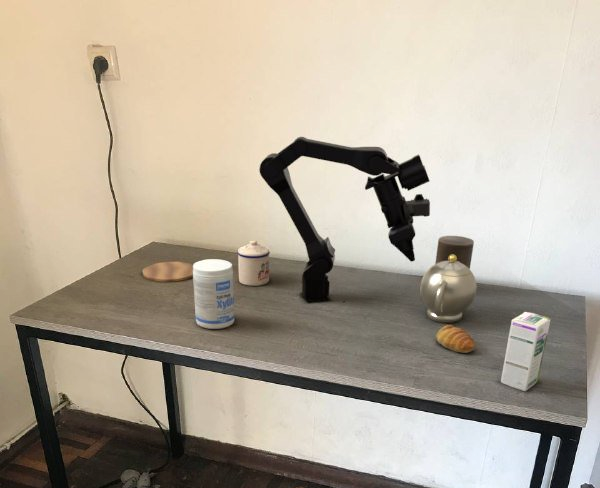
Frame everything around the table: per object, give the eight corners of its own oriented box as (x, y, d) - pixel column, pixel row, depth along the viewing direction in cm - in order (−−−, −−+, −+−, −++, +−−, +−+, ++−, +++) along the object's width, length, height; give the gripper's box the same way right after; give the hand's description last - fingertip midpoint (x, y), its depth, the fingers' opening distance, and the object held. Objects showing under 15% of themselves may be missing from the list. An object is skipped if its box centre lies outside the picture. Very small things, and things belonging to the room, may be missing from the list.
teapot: (425, 303, 171) (433, 242, 162) (476, 312, 166) (487, 250, 158) (406, 327, 157) (413, 262, 148) (461, 337, 152) (471, 271, 143)
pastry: (481, 351, 146) (484, 335, 144) (459, 357, 142) (462, 342, 141) (453, 336, 152) (455, 321, 150) (431, 342, 149) (433, 327, 147)
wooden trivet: (145, 284, 179) (145, 281, 179) (140, 266, 193) (140, 263, 192) (201, 279, 184) (201, 276, 183) (193, 262, 197) (193, 259, 196)
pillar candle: (445, 295, 176) (452, 241, 168) (425, 284, 184) (432, 232, 176) (474, 291, 179) (482, 238, 172) (453, 280, 187) (461, 229, 180)
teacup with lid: (263, 288, 178) (263, 247, 172) (233, 284, 180) (232, 243, 175) (277, 274, 188) (277, 235, 182) (248, 271, 190) (247, 232, 185)
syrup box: (525, 392, 129) (540, 326, 122) (498, 382, 132) (511, 318, 125) (537, 382, 133) (552, 318, 125) (511, 373, 136) (524, 310, 129)
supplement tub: (225, 332, 152) (222, 273, 144) (189, 327, 154) (184, 268, 147) (240, 318, 160) (239, 260, 152) (206, 313, 162) (202, 256, 155)
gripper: (423, 193, 147) (445, 254, 153) (419, 177, 163) (440, 233, 169) (378, 212, 150) (402, 271, 157) (379, 195, 166) (400, 249, 173)
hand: (412, 255), depth 164 cm, fingers open, 9 cm apart
